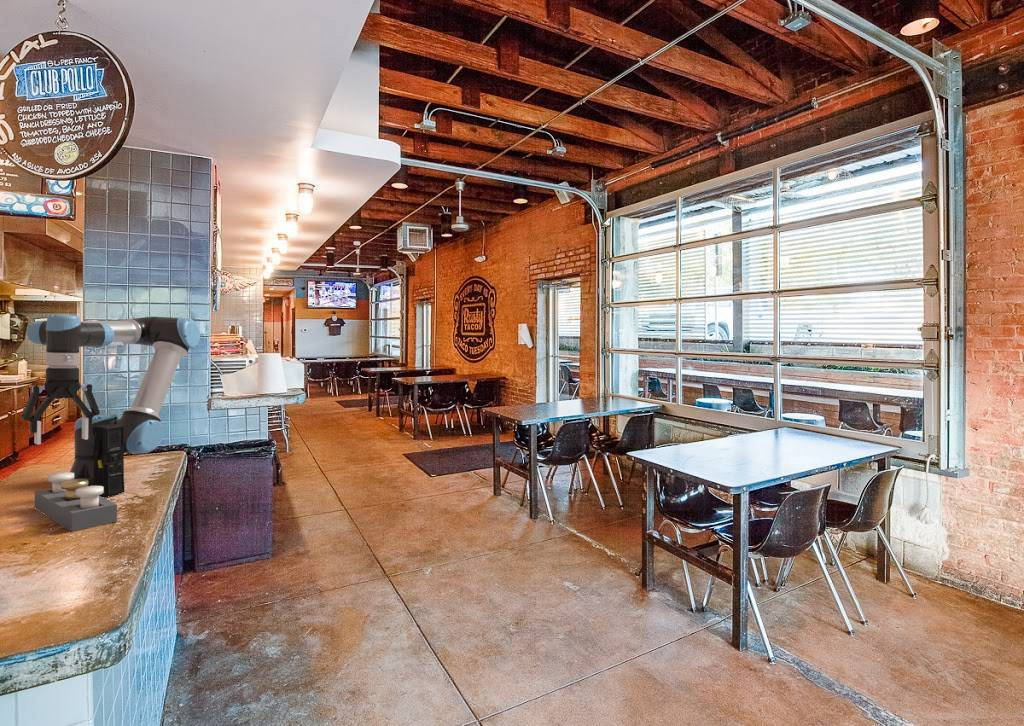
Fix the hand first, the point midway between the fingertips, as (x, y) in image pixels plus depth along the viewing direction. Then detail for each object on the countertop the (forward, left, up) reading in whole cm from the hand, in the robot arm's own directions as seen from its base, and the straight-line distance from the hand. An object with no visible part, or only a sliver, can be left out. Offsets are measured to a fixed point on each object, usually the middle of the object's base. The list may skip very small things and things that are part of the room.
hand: (61, 441), depth 156 cm
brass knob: (0, +11, -16) cm, 20 cm away
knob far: (0, +22, -16) cm, 27 cm away
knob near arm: (0, 0, -16) cm, 16 cm away
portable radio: (-13, -4, -20) cm, 24 cm away
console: (0, +11, -20) cm, 23 cm away
